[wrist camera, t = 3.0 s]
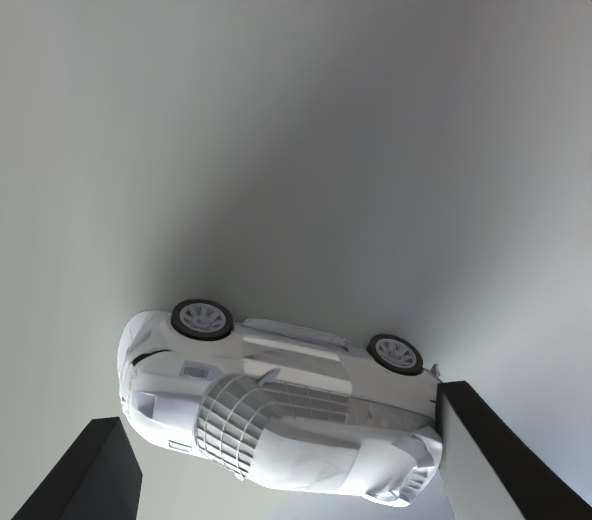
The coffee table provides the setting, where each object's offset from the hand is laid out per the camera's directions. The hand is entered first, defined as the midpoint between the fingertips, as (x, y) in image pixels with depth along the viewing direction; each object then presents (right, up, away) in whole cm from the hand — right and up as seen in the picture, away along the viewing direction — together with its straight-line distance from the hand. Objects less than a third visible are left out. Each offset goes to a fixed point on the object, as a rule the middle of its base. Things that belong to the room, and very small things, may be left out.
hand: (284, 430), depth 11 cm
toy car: (0, +1, +2) cm, 2 cm away
